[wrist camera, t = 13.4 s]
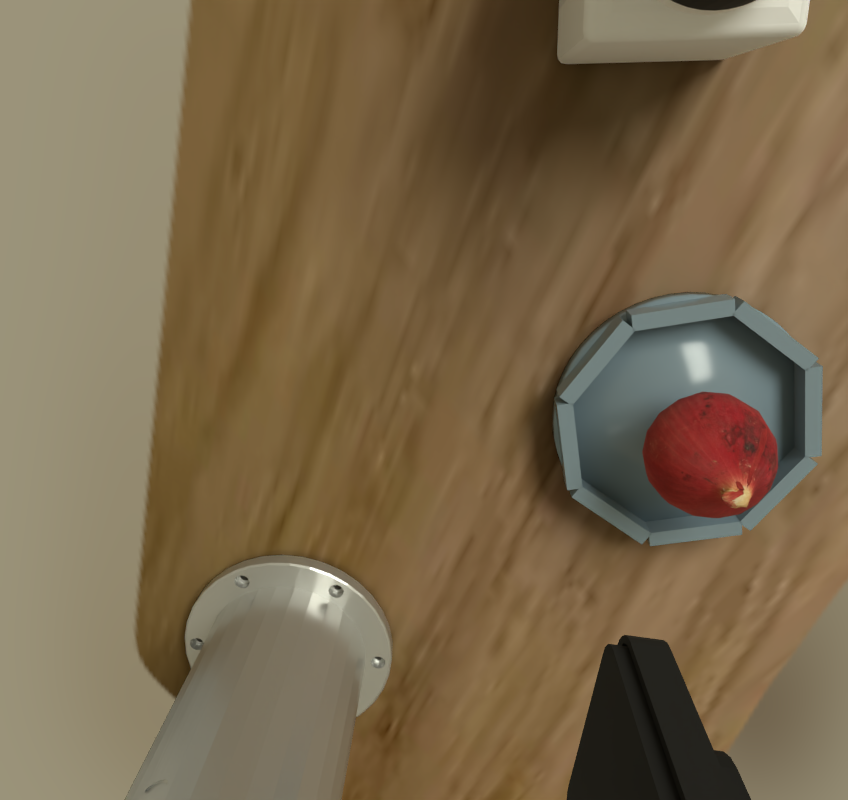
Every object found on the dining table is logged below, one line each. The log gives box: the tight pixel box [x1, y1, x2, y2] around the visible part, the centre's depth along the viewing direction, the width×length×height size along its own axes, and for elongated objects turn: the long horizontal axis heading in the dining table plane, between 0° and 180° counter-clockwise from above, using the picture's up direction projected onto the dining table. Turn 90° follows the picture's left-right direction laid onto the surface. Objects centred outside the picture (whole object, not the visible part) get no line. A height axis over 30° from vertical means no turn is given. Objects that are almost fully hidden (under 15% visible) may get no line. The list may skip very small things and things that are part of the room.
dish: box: [552, 292, 823, 546], centre depth 37 cm, size 13×13×2 cm
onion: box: [642, 392, 778, 518], centre depth 33 cm, size 6×6×8 cm
